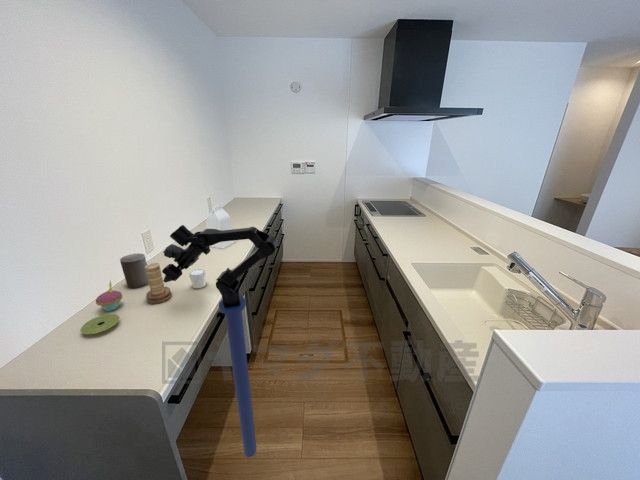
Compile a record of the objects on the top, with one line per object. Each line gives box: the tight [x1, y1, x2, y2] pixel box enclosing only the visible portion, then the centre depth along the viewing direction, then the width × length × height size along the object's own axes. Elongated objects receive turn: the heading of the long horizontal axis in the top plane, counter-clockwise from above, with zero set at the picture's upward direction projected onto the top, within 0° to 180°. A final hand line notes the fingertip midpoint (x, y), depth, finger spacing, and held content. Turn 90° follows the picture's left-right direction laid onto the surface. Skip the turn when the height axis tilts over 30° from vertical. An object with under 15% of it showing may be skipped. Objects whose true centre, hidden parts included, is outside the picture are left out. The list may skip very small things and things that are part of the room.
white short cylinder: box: [188, 268, 207, 289], centre depth 124 cm, size 7×7×7 cm
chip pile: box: [145, 286, 173, 305], centre depth 114 cm, size 10×10×3 cm
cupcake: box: [95, 280, 123, 312], centre depth 106 cm, size 9×8×12 cm
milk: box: [205, 204, 236, 250], centre depth 169 cm, size 12×12×26 cm
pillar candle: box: [119, 252, 149, 289], centre depth 124 cm, size 10×10×15 cm
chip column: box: [145, 262, 166, 295], centre depth 112 cm, size 5×5×13 cm
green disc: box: [80, 313, 120, 335], centre depth 97 cm, size 11×11×2 cm
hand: (170, 276), depth 111 cm, fingers open, 9 cm apart
